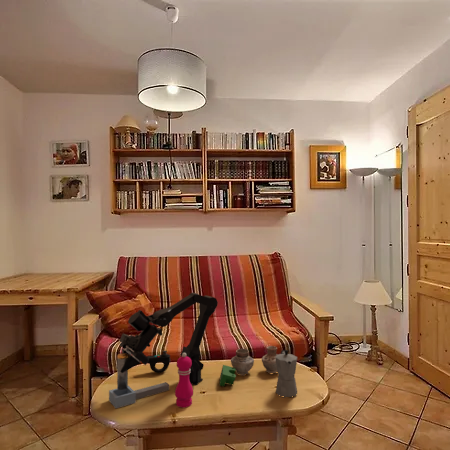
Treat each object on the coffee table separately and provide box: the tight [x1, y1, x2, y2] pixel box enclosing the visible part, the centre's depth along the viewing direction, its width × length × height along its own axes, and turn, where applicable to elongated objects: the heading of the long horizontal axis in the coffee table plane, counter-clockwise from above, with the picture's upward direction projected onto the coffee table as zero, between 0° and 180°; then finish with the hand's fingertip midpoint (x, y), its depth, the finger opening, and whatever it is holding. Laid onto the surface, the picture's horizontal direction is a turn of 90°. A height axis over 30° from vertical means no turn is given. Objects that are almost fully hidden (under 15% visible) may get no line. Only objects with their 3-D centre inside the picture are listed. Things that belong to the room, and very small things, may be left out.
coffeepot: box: [275, 349, 298, 398], centre depth 150 cm, size 15×9×18 cm, turn 2°
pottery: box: [230, 345, 278, 376], centre depth 171 cm, size 11×25×12 cm, turn 96°
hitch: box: [108, 381, 170, 409], centre depth 146 cm, size 24×8×4 cm, turn 126°
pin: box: [116, 352, 129, 390], centre depth 142 cm, size 4×4×13 cm
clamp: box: [219, 364, 237, 387], centre depth 160 cm, size 12×6×9 cm, turn 173°
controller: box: [146, 350, 171, 374], centre depth 171 cm, size 4×12×10 cm, turn 103°
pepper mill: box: [174, 353, 194, 408], centre depth 140 cm, size 7×7×20 cm
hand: (119, 370), depth 141 cm, fingers closed on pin, 4 cm apart
